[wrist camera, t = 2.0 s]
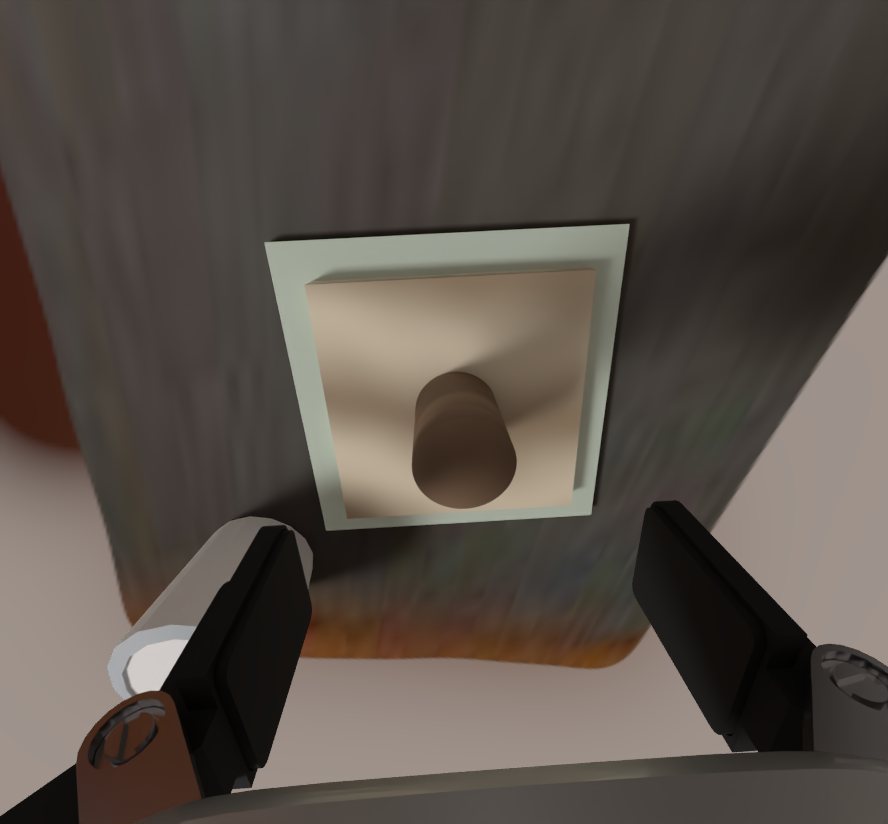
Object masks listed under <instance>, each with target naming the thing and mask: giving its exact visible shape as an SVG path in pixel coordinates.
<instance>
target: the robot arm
mask: <svg viewBox="0 0 888 824" xmlns="http://www.w3.org/2000/svg"><path fill="white" fill-rule="evenodd" d="M632 587H633V592H634V595H635V597H636V599H637V601H638V603H639V605H640V606H641V608H642V610H643V611H644V613H645V615H646V617H647V618H648V620H649V622H650V623H651V625H652V627H653V628H654V630H655V632H656V634H657V635H658V637H659V639H660V641H661V642H662V644H663V645H664V647H665V649H666V651H667V653H668V654H669V656H670V658H671V660H672V661H673V663H674V665H675V666H676V668H677V670H678V671H679V673H680V675H681V676H682V678H683V680H684V682H685V684H686V685H687V687H688V689H689V691H690V692H691V694H692V696H693V697H694V699H695V701H696V703H697V704H698V706H699V708H700V709H701V711H702V713H703V715H704V716H705V718H706V720H707V722H708V723H709V725H710V726H711V728H712V729H713V731H714V732H715V733H717V734H718V735H722V736H723V737H724V739H725V741H726V743H727V744H728V746H729V748H730V749H731V751H732V752H744V751H756V750H757V751H758V752H756V753H734V754H713V755H696V756H681V757H666V758H651V759H636V760H622V761H607V762H592V763H579V764H565V765H551V766H538V767H523V768H509V769H497V770H482V771H469V772H457V773H443V774H430V775H418V776H406V777H392V778H380V779H367V780H355V781H342V782H330V783H320V784H309V785H300V786H290V787H280V788H269V789H260V790H251V791H244V792H238V793H232V794H231V791H232V789H240V788H251V787H252V784H253V781H254V778H255V775H256V772H257V769H258V768H263V767H264V766H265V764H266V763H267V760H268V757H269V754H270V751H271V748H272V744H273V741H274V737H275V734H276V731H277V728H278V725H279V721H280V718H281V715H282V712H283V708H284V705H285V702H286V698H287V695H288V692H289V688H290V685H291V682H292V679H293V676H294V672H295V669H296V666H297V662H298V659H299V656H300V653H301V649H302V646H303V643H304V640H305V636H306V633H307V630H308V626H309V623H310V620H311V615H312V605H311V600H310V596H309V592H308V587H307V583H306V579H305V575H304V571H303V566H302V562H301V558H300V554H299V550H298V545H297V541H296V537H295V533H294V531H293V530H288V529H287V527H286V525H274V526H263V527H261V528H260V529H259V531H258V533H257V534H256V536H255V538H254V539H253V541H252V543H251V545H250V546H249V548H248V550H247V552H246V553H245V555H244V557H243V559H242V560H241V562H240V564H239V565H238V567H237V569H236V571H235V572H234V574H233V576H232V578H231V579H230V581H227V582H226V583H224V584H223V585H222V586H221V588H220V589H219V590H218V592H217V594H216V595H215V597H214V599H213V600H212V602H211V604H210V606H209V607H208V609H207V611H206V612H205V614H204V616H203V617H202V619H201V621H200V622H199V624H198V626H197V627H196V629H195V631H194V632H193V634H192V636H191V638H190V639H189V641H188V643H187V644H186V646H185V648H184V649H183V651H182V653H181V654H180V656H179V658H178V659H177V661H176V663H175V665H174V666H173V668H172V670H171V671H170V673H169V675H168V676H167V678H166V680H165V681H164V683H163V685H162V686H161V688H160V690H159V691H147V692H143V693H140V694H136V695H134V696H132V697H130V698H128V699H126V700H124V701H122V702H121V703H120V704H118V705H117V706H115V707H114V708H113V709H111V710H110V711H108V712H107V713H106V714H105V715H104V716H103V717H102V718H101V719H100V720H99V721H98V722H97V723H96V724H95V725H94V726H93V728H92V729H91V730H90V732H89V733H88V734H87V736H86V737H85V739H84V741H83V743H82V745H81V747H80V749H79V751H78V756H77V762H76V764H75V765H73V766H72V767H70V768H69V769H67V770H66V771H65V772H63V773H62V774H60V775H59V776H57V777H56V778H55V779H53V780H52V781H50V782H49V783H47V784H46V785H44V786H43V787H42V788H40V789H39V790H37V791H36V792H34V793H33V794H32V795H30V796H29V797H27V798H26V799H24V800H23V801H22V802H20V803H19V804H17V805H16V806H14V807H13V808H11V809H10V810H9V811H7V812H6V813H5V814H3V815H1V816H0V824H888V667H887V666H886V665H884V664H883V663H881V662H880V661H878V660H877V659H875V658H873V657H871V656H869V655H867V654H865V653H863V652H861V651H859V650H856V649H853V648H850V647H846V646H843V645H836V644H824V645H819V646H818V647H816V646H815V645H814V644H813V643H812V642H811V641H810V640H809V639H808V638H807V634H806V633H805V632H804V631H803V630H802V629H801V627H799V625H798V624H797V623H796V622H795V621H794V620H793V619H792V618H791V617H790V616H789V615H788V614H787V613H786V612H785V611H784V610H783V609H782V608H781V607H780V606H779V605H778V604H777V602H776V601H775V600H774V599H773V598H772V597H771V596H770V595H769V594H768V593H767V592H766V591H765V590H764V589H763V588H762V587H761V586H760V585H759V584H758V583H757V582H756V581H755V580H754V579H753V577H752V576H750V574H749V573H748V572H747V571H746V570H745V569H744V568H743V567H742V566H741V565H740V564H739V563H738V562H737V561H736V560H735V559H734V558H733V557H732V556H731V555H730V554H729V553H728V552H727V551H726V550H725V548H724V547H723V546H722V545H721V544H720V543H719V542H718V541H717V540H716V539H715V538H714V537H713V536H712V535H711V534H710V533H709V532H708V531H707V530H706V529H705V528H704V527H703V525H702V524H701V523H700V522H699V521H698V520H697V519H696V518H695V517H694V516H693V515H692V514H691V513H690V512H689V511H688V510H687V509H686V508H685V507H684V506H683V505H682V504H681V503H680V502H679V501H676V500H674V501H658V502H653V504H652V505H651V508H647V509H646V511H645V515H644V521H643V526H642V532H641V538H640V543H639V549H638V554H637V560H636V566H635V571H634V577H633V583H632Z"/></svg>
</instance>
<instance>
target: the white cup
mask: <svg viewBox="0 0 888 824" xmlns="http://www.w3.org/2000/svg"><path fill="white" fill-rule="evenodd" d="M274 525H286V524H284V523H281V522H279V521H276V520H274V519H271V518H262V517H251V516H249V517H245V518H240V519H236V520H232V521H229V522H228V523H226V524H225V525H224V526H222V527H221V528H220V529H218V530H217V531H216V532H215V533H214V534H213V535H212V536H211V537H210V539H209V540H208V541H207V542H206V543H205V544H204V545H203V547H202V548H201V549H200V550H199V551H198V552H197V554H196V555H195V556H194V557H193V558H192V559H191V560H190V562H189V563H188V564H187V565H186V566H185V567H184V569H183V570H182V571H181V572H180V573H179V574H178V575H177V577H176V578H175V579H174V580H173V581H172V582H171V583H170V585H169V586H168V587H167V588H166V589H165V590H164V592H163V593H162V594H161V595H160V596H159V597H158V598H157V600H156V601H155V602H154V603H153V604H152V605H151V607H150V608H149V609H148V610H147V611H146V612H145V613H144V615H143V616H142V617H141V618H140V619H139V620H138V621H137V623H136V624H135V625H134V626H133V627H132V628H131V630H130V631H129V632H128V633H127V634H126V635H125V636H124V638H123V639H122V640H121V641H120V642H119V644H117V646H116V647H115V649H114V651H113V655H112V656H111V659H110V662H109V664H108V666H107V669H108V672H109V675H110V679H111V682H112V686H113V689H114V690H115V691H116V692H117V693H118V694H119V695H120V696H121V697H122V698H123V699H124V700H126V699H128V698H130V697H132V696H134V695H136V694H140V693H143V692H147V691H159V690H160V688H161V686H162V685H163V683H164V681H165V680H166V678H167V676H168V675H169V673H170V671H171V670H172V668H173V666H174V665H175V663H176V661H177V659H178V658H179V656H180V654H181V653H182V651H183V649H184V648H185V646H186V644H187V643H188V641H189V639H190V638H191V636H192V634H193V632H194V631H195V629H196V627H197V626H198V624H199V622H200V621H201V619H202V617H203V616H204V614H205V612H206V611H207V609H208V607H209V606H210V604H211V602H212V600H213V599H214V597H215V595H216V594H217V592H218V590H219V589H220V588H221V586H222V585H223V584H224V583H226V582H227V581H230V579H231V578H232V576H233V574H234V572H235V571H236V569H237V567H238V565H239V564H240V562H241V560H242V559H243V557H244V555H245V553H246V552H247V550H248V548H249V546H250V545H251V543H252V541H253V539H254V538H255V536H256V534H257V533H258V531H259V529H260V528H261V527H263V526H274ZM286 527H287V529H288V530H293V531H294V533H295V537H296V541H297V545H298V550H299V554H300V558H301V562H302V566H303V571H304V575H305V579H306V583H307V587H308V588H309V583H310V578H311V574H312V569H313V553H312V551H311V549H310V547H309V545H308V543H307V541H306V539H305V538H304V537H303V536H302V535H300V534H299V533H298V532H297V531H296V530H294V529H293V528H292V527H291V526H289V525H286Z"/></svg>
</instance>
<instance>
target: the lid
mask: <svg viewBox="0 0 888 824" xmlns="http://www.w3.org/2000/svg"><path fill="white" fill-rule="evenodd" d="M595 278H596V269H592V268H588V267H579V268H560V269H541V270H522V271H503V272H484V273H464V274H445V275H426V276H407V277H388V278H369V279H349V280H330V281H311V282H309V283H307V284H305V285H304V286H305V292H306V297H307V303H308V308H309V314H310V319H311V325H312V330H313V335H314V341H315V346H316V352H317V357H318V363H319V368H320V374H321V379H322V385H323V390H324V395H325V401H326V406H327V412H328V417H329V423H330V428H331V434H332V439H333V445H334V450H335V455H336V461H337V466H338V472H339V477H340V483H341V488H342V494H343V499H344V505H345V510H346V515H347V519H354V518H371V517H387V516H404V515H421V514H437V513H454V512H470V511H487V510H504V509H520V508H537V507H554V506H570V505H571V504H572V495H573V485H574V476H575V466H576V457H577V448H578V438H579V429H580V419H581V410H582V401H583V391H584V382H585V372H586V363H587V353H588V344H589V335H590V325H591V316H592V306H593V297H594V288H595Z"/></svg>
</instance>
